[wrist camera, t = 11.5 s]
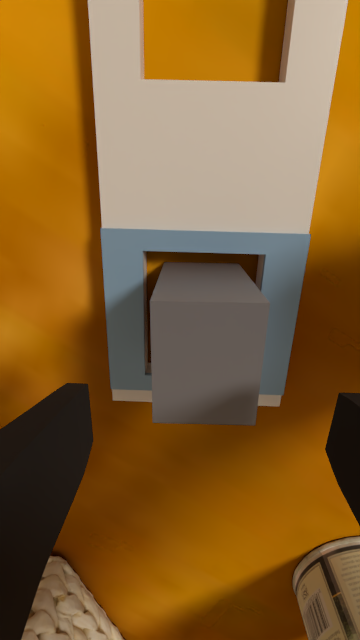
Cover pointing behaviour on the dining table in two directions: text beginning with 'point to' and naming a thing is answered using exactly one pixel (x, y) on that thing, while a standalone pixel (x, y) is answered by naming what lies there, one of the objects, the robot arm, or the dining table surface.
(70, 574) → the storage basket
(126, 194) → the two-tone slotted frame
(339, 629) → the coffee can
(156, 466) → the dining table surface
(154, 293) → the plug
